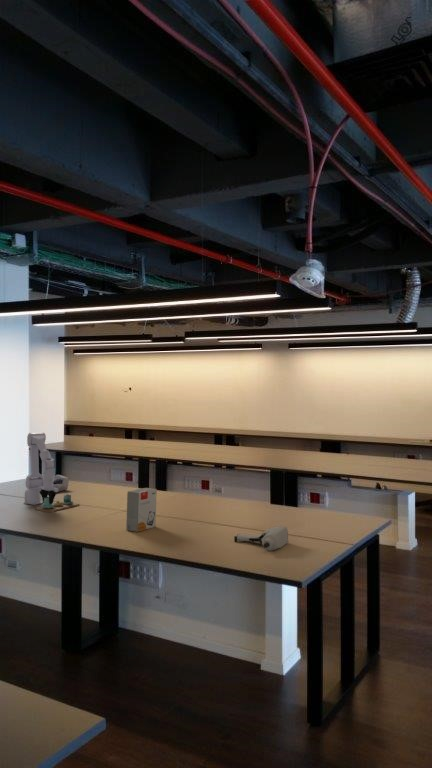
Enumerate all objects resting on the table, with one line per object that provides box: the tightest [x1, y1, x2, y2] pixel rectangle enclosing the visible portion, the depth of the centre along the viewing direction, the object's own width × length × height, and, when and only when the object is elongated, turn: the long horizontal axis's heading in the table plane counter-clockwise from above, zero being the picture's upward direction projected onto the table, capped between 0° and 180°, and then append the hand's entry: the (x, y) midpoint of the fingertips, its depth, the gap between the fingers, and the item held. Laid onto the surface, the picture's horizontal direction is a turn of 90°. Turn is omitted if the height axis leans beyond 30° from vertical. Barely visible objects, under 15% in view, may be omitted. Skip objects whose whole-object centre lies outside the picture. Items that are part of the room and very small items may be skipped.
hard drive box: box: [125, 487, 157, 533], centre depth 298 cm, size 16×8×20 cm, turn 148°
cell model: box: [49, 474, 70, 492], centre depth 398 cm, size 13×11×20 cm
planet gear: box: [40, 496, 55, 508], centre depth 339 cm, size 8×8×5 cm
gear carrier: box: [35, 493, 80, 513], centre depth 345 cm, size 23×13×7 cm, turn 150°
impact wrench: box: [233, 526, 289, 552], centre depth 268 cm, size 8×23×25 cm
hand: (48, 503), depth 339 cm, fingers closed on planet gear, 4 cm apart
